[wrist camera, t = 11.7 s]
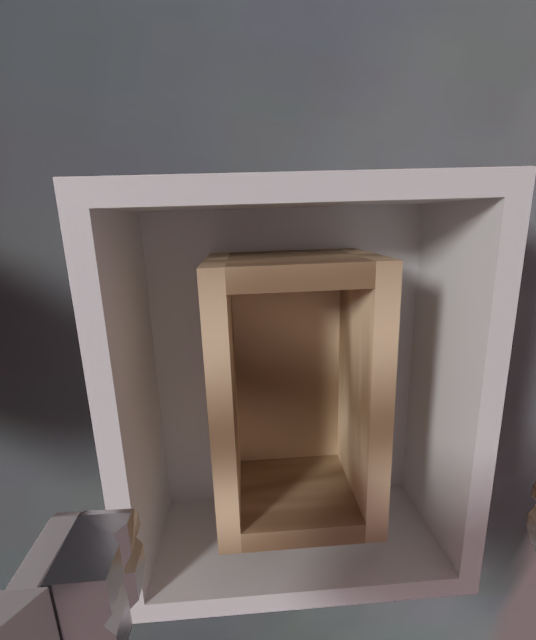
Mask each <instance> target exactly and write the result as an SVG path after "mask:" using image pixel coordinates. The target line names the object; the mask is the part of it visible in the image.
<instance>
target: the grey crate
mask: <svg viewBox="0 0 536 640" xmlns="http://www.w3.org/2000/svg"><path fill="white" fill-rule="evenodd" d="M535 175H536V166H510V167H467V168H423V169H380V170H336V171H293V172H249V173H206V174H162V175H119V176H75V177H53V182H54V189H55V195H56V201H57V207H58V214H59V220H60V226H61V232H62V239H63V245H64V251H65V257H66V264H67V270H68V276H69V283H70V289H71V295H72V301H73V308H74V314H75V320H76V326H77V333H78V339H79V345H80V352H81V358H82V364H83V370H84V377H85V383H86V389H87V395H88V402H89V408H90V414H91V420H92V427H93V433H94V439H95V446H96V452H97V458H98V464H99V471H100V477H101V483H102V489H103V496H104V502H105V508H106V510H114V509H134V508H135V509H136V510H137V511H138V514H139V520H140V528H139V532H138V535H137V539H138V540H140V541H141V542H142V543H143V546H144V554H145V569H144V578H143V585H142V589H141V593H140V598H139V600H138V602H137V603H136V604H135V605H134V606H133V607H132V608H131V609H130V613H131V619H132V624H136V623H148V622H159V621H171V620H182V619H194V618H205V617H217V616H228V615H240V614H251V613H263V612H275V611H286V610H298V609H309V608H321V607H332V606H344V605H355V604H367V603H378V602H390V601H401V600H413V599H424V598H436V597H448V596H459V595H471V594H478V589H479V582H480V575H481V568H482V560H483V553H484V546H485V538H486V531H487V524H488V517H489V509H490V502H491V495H492V487H493V480H494V473H495V466H496V458H497V451H498V444H499V437H500V429H501V422H502V415H503V407H504V400H505V393H506V386H507V378H508V371H509V364H510V357H511V349H512V342H513V335H514V327H515V320H516V313H517V306H518V298H519V291H520V284H521V276H522V269H523V262H524V255H525V247H526V240H527V233H528V226H529V218H530V211H531V204H532V196H533V189H534V182H535ZM340 248H357V249H361V250H365V251H369V252H373V253H377V254H380V255H384V256H388V257H392V258H396V259H400V260H403V271H402V289H401V307H400V325H399V342H398V360H397V378H396V396H395V413H394V431H393V449H392V467H391V484H390V502H389V520H388V538H387V542H375V543H363V544H350V545H338V546H326V547H313V548H301V549H288V550H276V551H263V552H251V553H238V554H226V555H219V552H218V539H217V526H216V513H215V501H214V488H213V475H212V462H211V449H210V437H209V424H208V411H207V398H206V386H205V373H204V360H203V347H202V335H201V322H200V309H199V296H198V283H197V271H196V268H197V267H198V266H199V265H200V264H201V263H202V262H203V261H204V260H205V258H206V257H207V256H208V255H209V254H210V253H233V252H260V251H286V250H313V249H340Z"/></svg>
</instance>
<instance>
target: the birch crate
mask: <svg viewBox="0 0 536 640" xmlns="http://www.w3.org/2000/svg"><path fill="white" fill-rule="evenodd" d="M196 271H197V283H198V296H199V309H200V322H201V335H202V347H203V360H204V373H205V386H206V398H207V411H208V424H209V437H210V449H211V462H212V475H213V488H214V501H215V513H216V526H217V539H218V552H219V555H226V554H238V553H251V552H263V551H276V550H288V549H301V548H313V547H326V546H338V545H350V544H363V543H375V542H387V538H388V520H389V502H390V484H391V467H392V449H393V431H394V413H395V396H396V378H397V360H398V342H399V325H400V307H401V289H402V271H403V260H400V259H396V258H392V257H388V256H384V255H380V254H377V253H373V252H369V251H365V250H361V249H357V248H340V249H313V250H286V251H260V252H233V253H210V254H209V255H208V256H207V257H206V258H205V260H204V261H203V262H202V263H201V264H200V265H199V266H198V267H197V268H196Z"/></svg>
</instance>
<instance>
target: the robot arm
mask: <svg viewBox="0 0 536 640" xmlns="http://www.w3.org/2000/svg"><path fill="white" fill-rule="evenodd" d="M531 496H532V497H533V499H534V500H535V502H536V482H535V483H534V485H533V489H532V494H531ZM139 528H140V520H139V514H138V511H137V510H136V509H135V508H134V509H114V510H93V511H83V512H64V513H56V514H55V515H53V516H52V517H51V518H50V519H49V520H48V522H47V524H46V525H45V527H44V528H43V530H42V531H41V533H40V535H39V536H38V538H37V539H36V541H35V543H34V544H33V546H32V547H31V549H30V550H29V552H28V554H27V555H26V557H25V558H24V560H23V562H22V563H21V565H20V566H19V568H18V570H17V571H16V573H15V574H14V576H13V577H12V579H11V581H10V582H9V584H8V585H7V587H6V589H5V590H4V591H0V640H128V639H129V635H130V632H131V628H132V619H131V613H130V609H131V608H132V607H133V606H134V605H135V604H136V603H137V602H138V600H139V598H140V593H141V589H142V585H143V578H144V569H145V554H144V546H143V543H142V542H141V541H140V540H138V539H137V535H138V532H139ZM526 528H527V532H528V535H529V539H530V542H531V544H532V546H533V548H534V549H535V551H536V505H535V506H534V507H533V508H532V509H531V511H530V512H529V513H528V517H527V525H526Z"/></svg>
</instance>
